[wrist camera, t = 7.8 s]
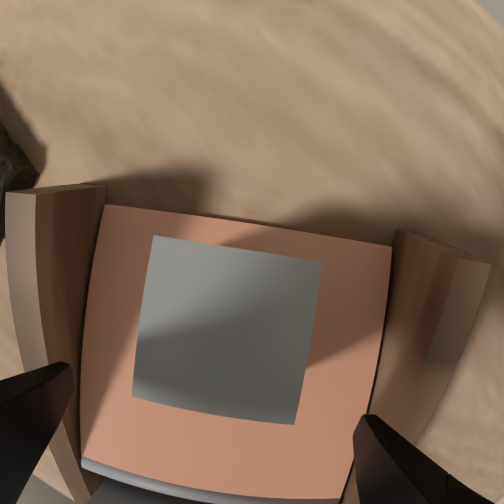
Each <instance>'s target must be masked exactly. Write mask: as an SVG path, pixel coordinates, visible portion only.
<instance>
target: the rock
mask: <svg viewBox="0 0 504 504" xmlns="http://www.w3.org/2000/svg"><path fill="white" fill-rule="evenodd" d="M38 176H39V173H38V172H37V171H36V170H35V169H34V168H33V166H32V165H31V163H30V162H29V160H28V159H27V157H26V155H25V154H24V153H23V151H22V150H21V149H20V147H19V146H18V145H14V144H13V143H12V141H11V140H10V138H9V135H8V133H7V131H6V129H5V128H4V127H3V126H2V125H1V124H0V239H1V237H2V235H3V233H4V232H5V195H6V192H10V191H17V190H25V189H31V188H32V186H33V184H34V182H35V179H36V177H38Z"/></svg>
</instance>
